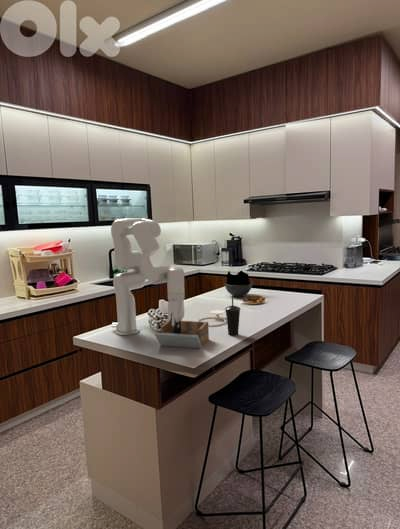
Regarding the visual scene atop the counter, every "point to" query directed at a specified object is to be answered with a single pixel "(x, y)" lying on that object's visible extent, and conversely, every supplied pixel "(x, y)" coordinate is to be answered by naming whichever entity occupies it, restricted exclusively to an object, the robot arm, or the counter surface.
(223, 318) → the hand towel holder
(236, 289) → the coal bowl
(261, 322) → the counter surface
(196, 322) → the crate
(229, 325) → the drinking cup
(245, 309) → the counter surface
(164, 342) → the panel
